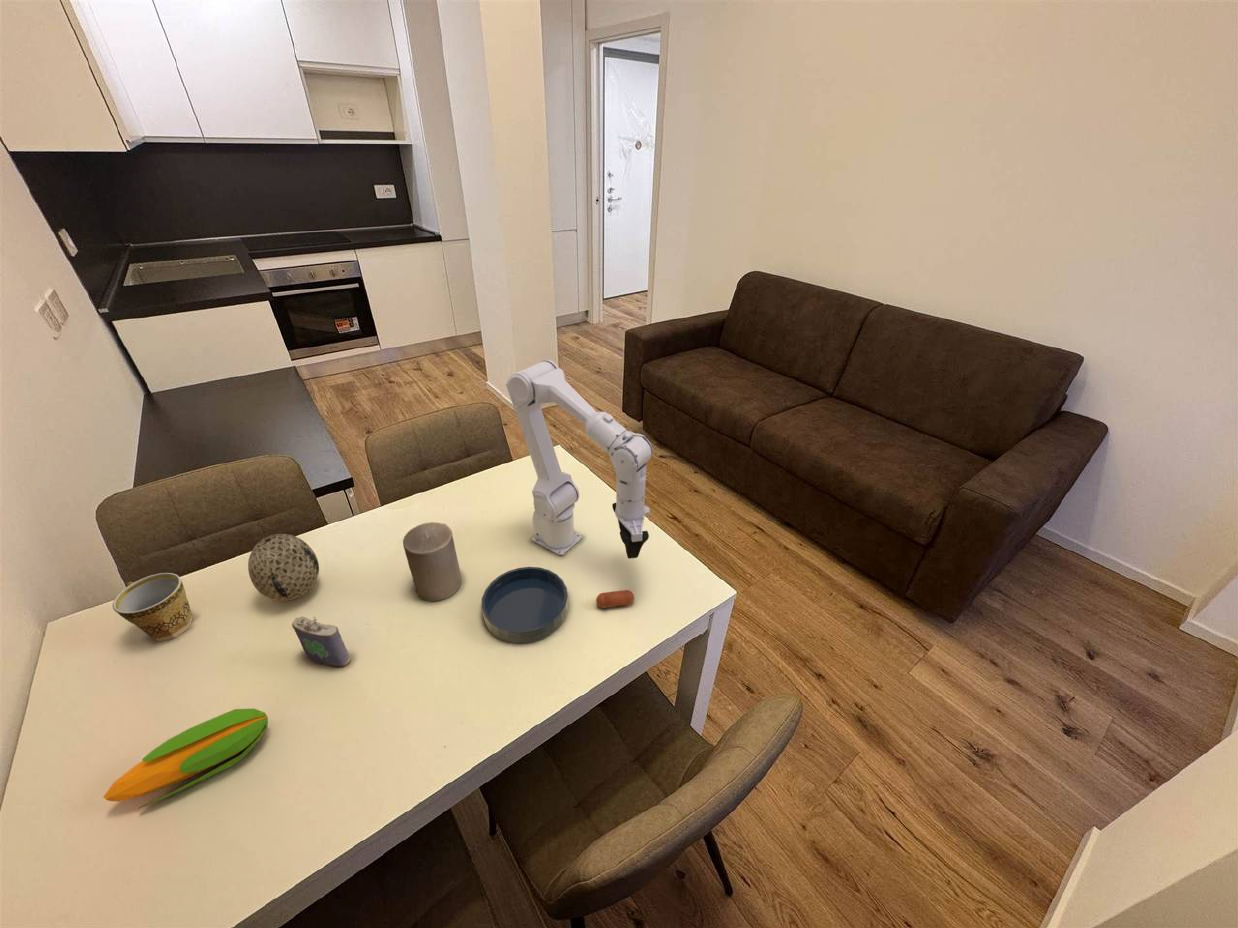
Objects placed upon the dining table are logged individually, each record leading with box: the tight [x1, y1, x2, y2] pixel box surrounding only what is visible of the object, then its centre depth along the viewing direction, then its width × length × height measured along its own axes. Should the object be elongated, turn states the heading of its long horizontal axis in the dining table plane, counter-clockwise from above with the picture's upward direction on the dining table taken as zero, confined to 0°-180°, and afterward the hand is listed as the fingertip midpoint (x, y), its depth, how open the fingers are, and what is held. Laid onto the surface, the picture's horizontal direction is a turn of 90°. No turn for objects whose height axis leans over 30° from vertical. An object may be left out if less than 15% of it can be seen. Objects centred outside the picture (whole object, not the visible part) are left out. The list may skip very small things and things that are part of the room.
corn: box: [102, 708, 269, 810], centre depth 76 cm, size 7×8×20 cm
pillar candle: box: [402, 521, 462, 602], centre depth 106 cm, size 10×10×15 cm
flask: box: [291, 616, 352, 668], centre depth 92 cm, size 9×3×11 cm, turn 74°
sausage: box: [595, 589, 635, 609], centre depth 106 cm, size 8×3×3 cm, turn 100°
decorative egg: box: [247, 533, 320, 602], centre depth 104 cm, size 12×12×15 cm
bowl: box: [481, 566, 569, 645], centre depth 104 cm, size 17×17×4 cm
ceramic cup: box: [112, 572, 194, 642], centre depth 98 cm, size 13×10×10 cm
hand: (629, 544), depth 108 cm, fingers open, 7 cm apart
